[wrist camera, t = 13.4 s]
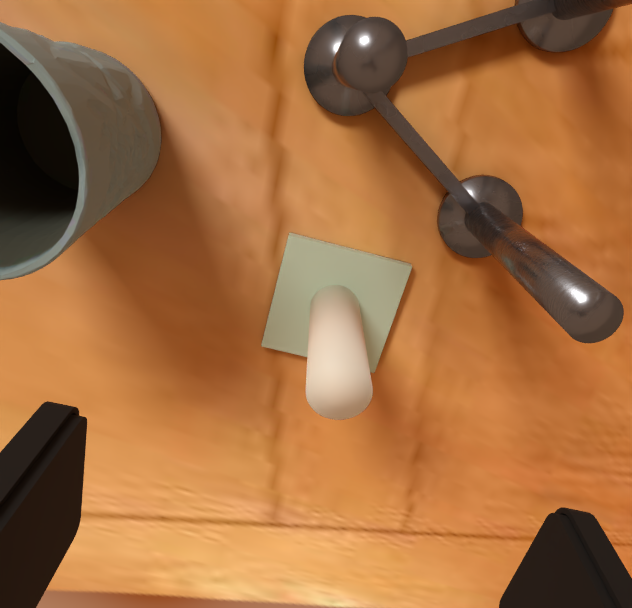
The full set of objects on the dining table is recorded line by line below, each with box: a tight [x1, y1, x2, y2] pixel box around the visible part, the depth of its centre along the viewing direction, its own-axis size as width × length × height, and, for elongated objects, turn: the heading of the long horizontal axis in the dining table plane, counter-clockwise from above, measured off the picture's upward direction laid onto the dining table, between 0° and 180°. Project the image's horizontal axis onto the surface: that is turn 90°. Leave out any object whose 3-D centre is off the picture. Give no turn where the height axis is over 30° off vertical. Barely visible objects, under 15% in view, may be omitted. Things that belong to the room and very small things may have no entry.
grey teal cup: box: [0, 22, 161, 280], centre depth 25 cm, size 10×10×12 cm
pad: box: [261, 232, 412, 373], centre depth 34 cm, size 8×8×1 cm
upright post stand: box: [304, 0, 632, 343], centre depth 23 cm, size 15×17×15 cm
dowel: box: [306, 285, 373, 420], centre depth 29 cm, size 3×3×10 cm
